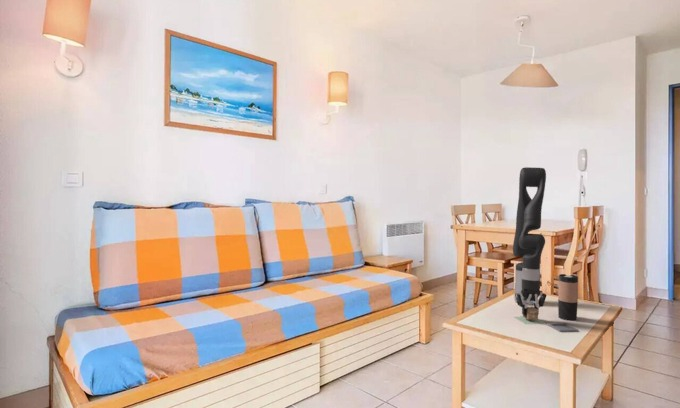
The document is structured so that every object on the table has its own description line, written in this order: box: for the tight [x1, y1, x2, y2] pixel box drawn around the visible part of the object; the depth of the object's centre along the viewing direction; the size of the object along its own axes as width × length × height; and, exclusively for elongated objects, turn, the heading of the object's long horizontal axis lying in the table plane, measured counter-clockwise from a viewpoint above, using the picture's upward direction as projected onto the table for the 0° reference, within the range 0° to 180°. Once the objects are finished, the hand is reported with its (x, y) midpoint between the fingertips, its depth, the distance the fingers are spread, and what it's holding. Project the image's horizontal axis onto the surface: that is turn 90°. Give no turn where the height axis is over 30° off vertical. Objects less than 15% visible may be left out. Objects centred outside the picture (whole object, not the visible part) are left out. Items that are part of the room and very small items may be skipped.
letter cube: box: [522, 305, 539, 320], centre depth 172 cm, size 5×4×5 cm
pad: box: [513, 316, 548, 325], centre depth 172 cm, size 10×10×1 cm
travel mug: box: [557, 273, 579, 322], centre depth 175 cm, size 8×8×20 cm
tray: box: [547, 322, 579, 333], centre depth 161 cm, size 8×8×1 cm
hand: (530, 315), depth 172 cm, fingers closed on letter cube, 4 cm apart
